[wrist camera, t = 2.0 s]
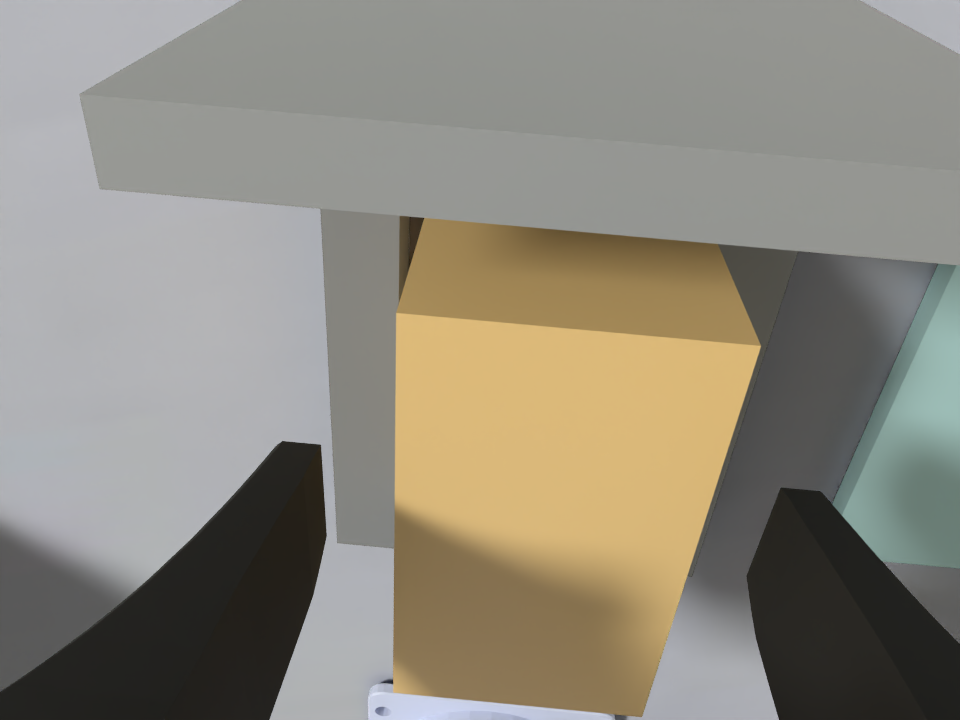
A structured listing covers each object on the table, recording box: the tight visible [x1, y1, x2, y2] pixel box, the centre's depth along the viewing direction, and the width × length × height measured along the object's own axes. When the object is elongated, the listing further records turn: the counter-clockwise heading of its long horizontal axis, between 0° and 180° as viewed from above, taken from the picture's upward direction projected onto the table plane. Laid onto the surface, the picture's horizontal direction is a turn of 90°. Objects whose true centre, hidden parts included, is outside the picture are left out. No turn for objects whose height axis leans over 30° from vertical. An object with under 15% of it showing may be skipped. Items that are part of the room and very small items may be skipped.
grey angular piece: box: [79, 0, 960, 577], centre depth 14 cm, size 13×9×9 cm
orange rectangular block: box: [393, 218, 761, 717], centre depth 15 cm, size 8×4×7 cm, turn 176°
